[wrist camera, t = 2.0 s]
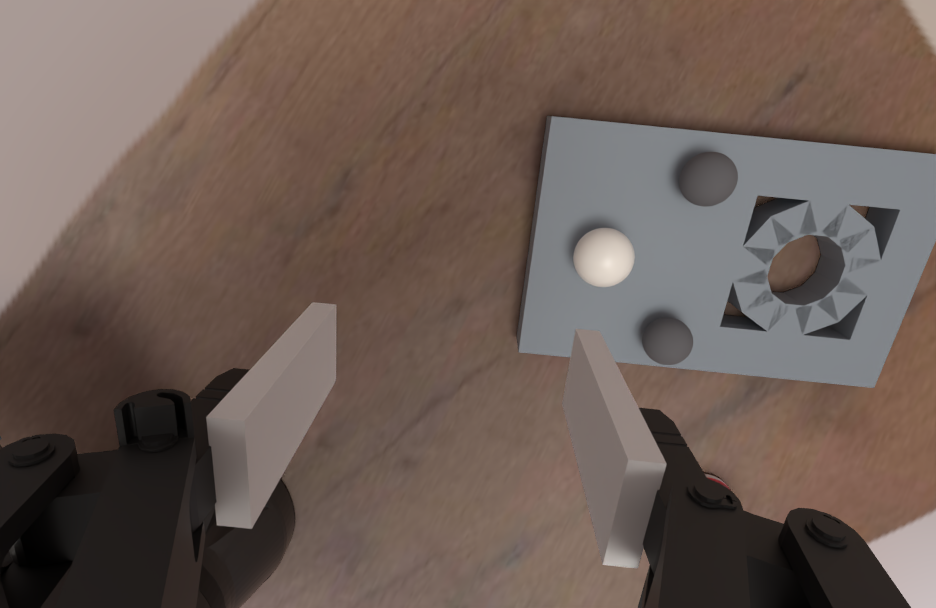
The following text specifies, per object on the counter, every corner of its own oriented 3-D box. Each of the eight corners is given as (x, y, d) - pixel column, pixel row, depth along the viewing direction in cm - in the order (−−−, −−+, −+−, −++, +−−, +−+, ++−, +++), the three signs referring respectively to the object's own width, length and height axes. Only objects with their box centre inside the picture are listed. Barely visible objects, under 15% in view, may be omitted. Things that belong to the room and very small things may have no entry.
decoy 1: (632, 349, 34) (645, 371, 32) (641, 308, 33) (656, 325, 31) (677, 354, 34) (694, 375, 32) (688, 312, 33) (706, 331, 31)
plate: (516, 336, 37) (518, 352, 35) (547, 115, 32) (551, 116, 30) (849, 370, 37) (873, 387, 35) (935, 154, 32) (970, 157, 29)
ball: (565, 274, 33) (573, 292, 30) (574, 219, 32) (584, 231, 28) (620, 279, 33) (634, 298, 30) (631, 225, 32) (647, 238, 28)
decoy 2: (666, 199, 31) (684, 208, 28) (678, 147, 30) (697, 151, 27) (716, 204, 31) (739, 213, 28) (729, 152, 30) (755, 156, 27)
